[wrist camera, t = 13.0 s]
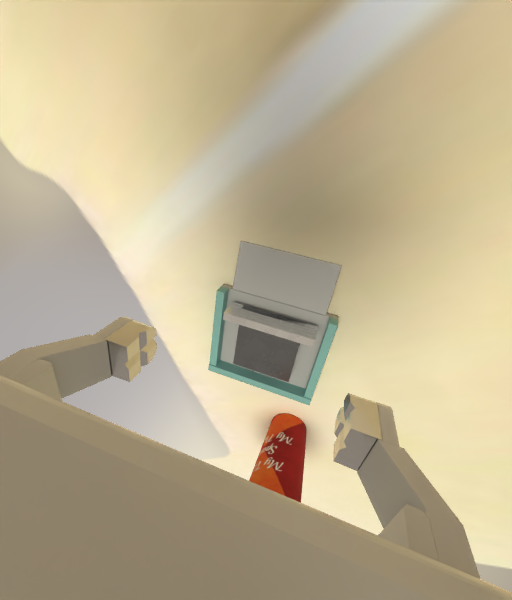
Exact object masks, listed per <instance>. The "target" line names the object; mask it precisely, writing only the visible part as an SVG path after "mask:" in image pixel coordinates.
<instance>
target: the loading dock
mask: <svg viewBox="0 0 512 600" xmlns="http://www.w3.org/2000/svg"><path fill="white" fill-rule="evenodd" d="M341 266H342V265H337V264H333V263H329V262H325V261H321V260H317V259H313V258H309V257H305V256H301V255H297V254H293V253H289V252H285V251H281V250H277V249H273V248H269V247H264V246H260V245H256V244H252V243H248V242H244V241H241V243H240V249H239V255H238V261H237V266H236V272H235V278H234V283H233V286H229V285H226V284H224V285H223V286H222V287H220V288H219V289H218V290H217V295H216V305H215V315H214V325H213V335H212V345H211V355H210V364H209V370H210V371H213V372H216V373H218V374H221V375H224V376H227V377H230V378H233V379H236V380H238V381H241V382H244V383H247V384H250V385H253V386H256V387H258V388H261V389H264V390H267V391H270V392H273V393H276V394H278V395H281V396H284V397H287V398H290V399H293V400H296V401H298V402H301V403H304V404H307V405H310V402H311V398H312V396H313V393H314V390H315V387H316V385H317V382H318V379H319V376H320V374H321V371H322V368H323V365H324V363H325V360H326V357H327V354H328V352H329V349H330V346H331V343H332V341H333V338H334V335H335V332H336V330H337V327H338V316H336V315H332V314H329V313H327V310H328V307H329V304H330V301H331V298H332V295H333V291H334V288H335V285H336V282H337V279H338V276H339V273H340V269H341ZM233 302H235V303H239V304H242V305H246V306H249V307H252V308H256V309H259V310H263V311H266V312H269V313H273V314H276V315H280V316H283V317H287V318H290V319H293V320H297V321H300V322H304V323H307V324H310V325H314V326H317V327H318V329H317V335H316V340H315V343H314V346H313V347H310V346H307V345H304V344H301V343H300V345H299V348H298V352H297V355H296V359H295V362H294V365H293V369H292V372H291V376H290V379H289V382H286V381H283V380H280V379H277V378H274V377H271V376H268V375H265V374H262V373H259V372H256V371H253V370H250V369H247V368H245V367H242V366H239V365H236V364H233V360H234V354H235V347H236V341H237V334H238V328H239V324H236V323H232V322H229V321H226V320H223V316H224V312H225V311H226V310H227V308H228V307H229V306H230V305H231V304H232V303H233Z"/></svg>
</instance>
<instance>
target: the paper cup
mask: <svg viewBox="0 0 512 600" xmlns="http://www.w3.org/2000/svg"><path fill="white" fill-rule="evenodd" d="M305 445H306V426H305V424H304V423H303V421H302V420H300V419H299V418H298V417H296V416H294V415H291V414H285V413H284V414H278V415H276V416H275V417H274V418H273V420H272V422H271V425H270V427H269V430H268V432H267V435H266V437H265V440H264V443H263V445H262V448H261V451H260V453H259V456H258V459H257V461H256V464H255V467H254V469H253V472H252V475H251V477H250V480H249V481H250V482H253V483H255V484H258V485H260V486H262V487H265V488H267V489H269V490H272V491H274V492H276V493H279V494H281V495H283V496H286V497H288V498H291V499H293V500H295V501H298V502H300V503H301V493H302V482H303V470H304V458H305Z"/></svg>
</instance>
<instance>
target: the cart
mask: <svg viewBox="0 0 512 600" xmlns="http://www.w3.org/2000/svg"><path fill="white" fill-rule="evenodd" d="M223 320H226V321H229V322H232V323H236V324H239V328H238V334H237V341H236V347H235V354H234V360H233V364H236V365H239V366H242V367H245V368H247V369H250V370H253V371H256V372H259V373H262V374H265V375H268V376H271V377H274V378H277V379H280V380H283V381H286V382H289V379H290V376H291V372H292V369H293V365H294V362H295V359H296V355H297V352H298V348H299V345H300V343H301V344H304V345H307V346H310V347H313V346H314V343H315V340H316V335H317V329H318V327H317V326H314V325H310V324H307V323H304V322H300V321H297V320H293V319H290V318H287V317H283V316H280V315H276V314H273V313H269V312H266V311H263V310H259V309H256V308H252V307H249V306H246V305H242V304H239V303H235V302H233V303H232V304H231V305H230V306H229V307H228V308H227V310H226V311H225V312H224V316H223Z"/></svg>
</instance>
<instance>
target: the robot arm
mask: <svg viewBox="0 0 512 600" xmlns="http://www.w3.org/2000/svg"><path fill="white" fill-rule="evenodd" d="M156 335H157V334H156V329H155V328H154V327H152V326H149V325H147V324H144V323H141V322H138V321H136V320H132V319H130V318H127V317H120V318H118V319H117V320H115V321H114V322H112V323H111V324H109V325H108V326H106V327H105V328H104V329H102V330H100V331H99V332H97V333H96V334H94V335H85V336H80V337H76V338H71V339H67V340H62V341H58V342H53V343H49V344H44V345H40V346H36V347H31V348H27V349H22V350H20V351H18V352H16V353H15V354H13V355H11V356H9V357H7V358H6V359H4V360H2V361H0V600H512V592H509V591H506V590H504V589H502V588H500V587H497V586H495V585H493V584H490V583H488V582H485V581H483V580H481V579H480V576H479V573H478V570H477V567H476V564H475V561H474V558H473V554H472V551H471V548H470V545H469V542H468V539H467V536H466V533H465V530H464V527H463V525H462V523H461V522H460V521H459V519H458V518H457V517H456V516H455V514H454V513H453V512H452V510H451V509H450V508H449V506H448V505H447V504H446V503H445V501H444V500H443V499H442V497H441V496H440V495H439V493H438V492H437V491H436V490H435V488H434V487H433V486H432V484H431V483H430V482H429V480H428V479H427V478H426V477H425V475H424V474H423V473H422V471H421V470H420V469H419V467H418V466H417V465H416V464H415V462H414V461H413V460H412V458H411V457H410V456H409V454H408V453H407V452H406V451H405V449H404V448H401V447H399V441H398V436H397V431H396V426H395V421H394V416H393V411H392V408H391V407H389V406H386V405H383V404H380V403H377V402H376V403H375V402H373V401H370V400H367V399H364V398H361V397H358V396H355V395H352V394H349V393H348V395H347V396H346V398H345V400H344V407H342V408H340V410H339V413H338V415H337V419H336V423H335V435H336V437H337V439H336V441H335V443H334V462H337V463H339V464H342V465H344V466H346V467H349V468H351V469H354V470H356V471H358V472H357V473H358V475H359V477H360V479H361V481H362V484H363V486H364V488H365V490H366V492H367V494H368V496H369V498H370V501H371V503H372V505H373V507H374V509H375V511H376V513H377V515H378V518H379V520H380V522H381V524H382V526H383V528H384V529H383V531H382V532H381V533H380V534H379V535H375V534H373V533H371V532H368V531H366V530H364V529H361V528H359V527H356V526H354V525H352V524H349V523H347V522H345V521H342V520H340V519H338V518H335V517H333V516H331V515H328V514H326V513H324V512H321V511H319V510H316V509H314V508H312V507H309V506H307V505H305V504H302V503H300V502H298V501H295V500H293V499H291V498H288V497H286V496H283V495H281V494H279V493H276V492H274V491H272V490H269V489H267V488H265V487H262V486H260V485H258V484H255V483H253V482H250V481H248V480H246V479H243V478H241V477H239V476H236V475H234V474H232V473H229V472H227V471H224V470H222V469H220V468H217V467H215V466H213V465H210V464H208V463H206V462H203V461H201V460H198V459H196V458H194V457H191V456H189V455H187V454H184V453H182V452H180V451H177V450H175V449H172V448H170V447H168V446H166V445H163V444H161V443H159V442H156V441H154V440H152V439H149V438H147V437H145V436H142V435H140V434H137V433H135V432H133V431H130V430H128V429H126V428H123V427H121V426H119V425H116V424H114V423H112V422H109V421H107V420H104V419H102V418H100V417H97V416H95V415H93V414H90V413H88V412H85V411H83V410H81V409H79V408H76V407H74V406H72V405H69V404H67V403H65V402H62V398H64V397H66V396H68V395H71V394H73V393H75V392H77V391H80V390H82V389H84V388H86V387H89V386H91V385H94V384H96V383H98V382H100V381H103V380H105V379H107V378H110V377H111V376H114V377H117V378H120V379H123V380H126V381H129V382H130V381H131V380H132V379H133V378H134V377H135V376H136V375H137V374H138V373H139V372H140V371H141V366H144V365H147V364H148V363H149V362H150V361H151V360H152V359H153V357H154V355H155V353H156V349H157V344H156V342H155V340H154V337H155V336H156Z"/></svg>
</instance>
